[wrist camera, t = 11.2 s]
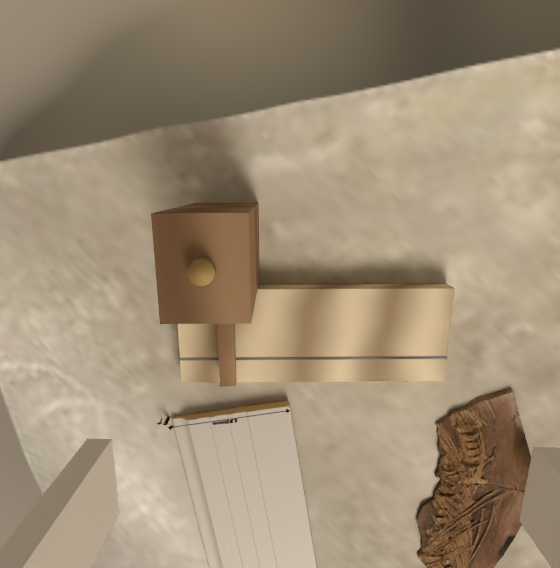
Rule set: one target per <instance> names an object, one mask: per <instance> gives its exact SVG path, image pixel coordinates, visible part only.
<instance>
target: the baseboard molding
mask: <svg viewBox="0 0 560 568" xmlns="http://www.w3.org/2000/svg"><path fill="white" fill-rule="evenodd" d="M169 419H170V418H169V417H167V418H166V420H165V422H166V423H164V424H163V425H167V423H168V421H169ZM161 420H162V419H161ZM172 420H173V424H174V428H175V432H176V436H177V440H178V444H179V448H180V452H181V456H182V460H183V464H184V468H185V472H186V476H187V479H188V483H189V487H190V491H191V495H192V499H193V503H194V507H195V511H196V515H197V519H198V523H199V527H200V531H201V535H202V539H203V543H204V547H205V551H206V555H207V559H208V563H209V567H210V568H317V567H316V561H315V555H314V549H313V543H312V537H311V531H310V525H309V519H308V513H307V507H306V501H305V495H304V489H303V483H302V477H301V471H300V465H299V459H298V453H297V447H296V441H295V435H294V429H293V423H292V417H291V411H290V405H289V402H288V401H281V402H274V403H267V404H260V405H253V406H246V407H238V408H231V409H224V410H217V411H210V412H203V413H196V414H189V415H182V416H175V417H173V419H172ZM160 422H161V421H160ZM161 423H162V422H161ZM161 423H157V424H161ZM172 426H173V425H172ZM172 426H170V427H168V428H169V429H171V428H173V427H172Z"/></svg>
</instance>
